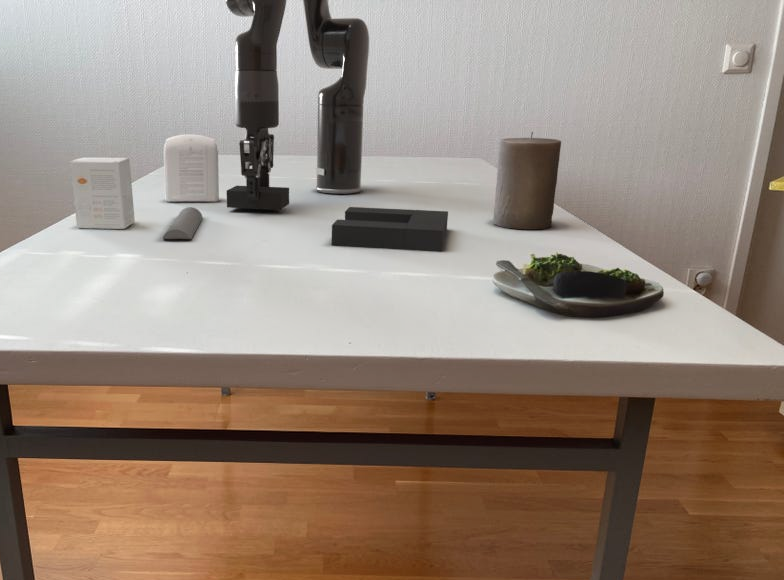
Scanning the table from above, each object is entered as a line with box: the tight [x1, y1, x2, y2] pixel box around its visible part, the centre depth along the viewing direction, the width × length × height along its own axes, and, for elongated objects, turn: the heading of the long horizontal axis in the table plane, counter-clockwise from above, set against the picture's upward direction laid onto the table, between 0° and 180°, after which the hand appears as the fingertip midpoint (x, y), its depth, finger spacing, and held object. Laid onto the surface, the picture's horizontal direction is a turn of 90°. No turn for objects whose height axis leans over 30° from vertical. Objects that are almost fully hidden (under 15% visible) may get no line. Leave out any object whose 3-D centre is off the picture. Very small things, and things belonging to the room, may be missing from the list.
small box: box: [69, 156, 136, 230], centre depth 124 cm, size 8×6×10 cm
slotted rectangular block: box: [331, 206, 449, 252], centre depth 119 cm, size 16×16×3 cm
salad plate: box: [492, 251, 665, 318], centre depth 90 cm, size 19×18×5 cm
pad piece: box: [226, 185, 290, 211], centre depth 140 cm, size 6×10×3 cm, turn 78°
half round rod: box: [162, 206, 203, 240], centre depth 124 cm, size 4×20×2 cm, turn 2°
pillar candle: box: [492, 131, 562, 230], centre depth 128 cm, size 10×10×15 cm
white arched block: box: [163, 133, 220, 203], centre depth 147 cm, size 10×4×12 cm, turn 98°
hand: (258, 196), depth 140 cm, fingers closed on pad piece, 6 cm apart
